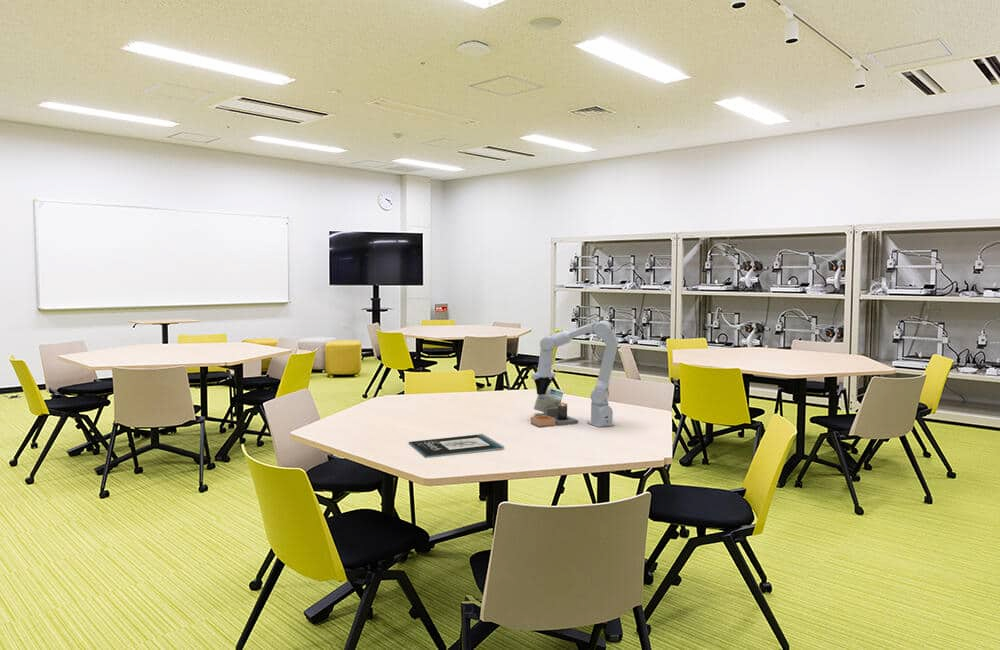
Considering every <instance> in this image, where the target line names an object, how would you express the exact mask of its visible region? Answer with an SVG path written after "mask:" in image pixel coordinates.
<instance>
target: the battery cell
mask: <svg viewBox="0 0 1000 650" xmlns="http://www.w3.org/2000/svg"><path fill="white" fill-rule="evenodd" d="M567 416H568V403H565V402H561V403H559V404H558V420H560V421H561V420H567Z"/></svg>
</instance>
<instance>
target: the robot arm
mask: <svg viewBox="0 0 1000 650" xmlns="http://www.w3.org/2000/svg"><path fill="white" fill-rule="evenodd" d="M558 331H559V332H556V333H553V334H552V333H551V334H549V335H548V336H545V337H543V338H541V340H540V342H539V347H540V352H539V359H538V365H537V371H535V373H533V374H531V380H533V381H534V383H535V388H536V395H537V396H538V395H542V394H543V395H545V393H546V391H547V388H548V386H549V387H550V385H551V383H552V382H553V379H552V378H556V373H555V372H552V363H553V357H554V356H553V355H554V349H555V348H558V347H561V346H565V345H567V344H569V343H570V342H571V340H572V339H573V338H577V337H580V336H582V335H585V334H590V335H594V334H595V336H596V337H599V338H600V339H601V340H602V341H603V343H604V344H605V348H604V352H603V356H602V359H601V365H600V369H599V374H598V376H597V379H596V380H597V381H596V383H595V385H594V389H593V390H592V391H591V393H590V400H591V404H590V421H589V420H588V421H586V423H587V424H590V425H592V426H595V427H599V428H601V427H610V426H611V427H612V426H615V423H613V412H614V411H613V408H612V407H611V406H610V404H609V401H608V398H609V397H610V391H609V386H610V378H611V374H612V371H613V367H614V361H615V359H616V358H615V357H616V354H617V350H618V346H619V340H618V337H617V333H616V330H615V327H614V326H613V325H612V323H611V322H610V321H608V320H602V321H596V322H592V323H588V324H585V325H583V326H580V327H578V328H575V329H573V330H570V331H568V330H566V329H564V330H563V329H561V330H558Z"/></svg>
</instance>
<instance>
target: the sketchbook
mask: <svg viewBox="0 0 1000 650" xmlns="http://www.w3.org/2000/svg"><path fill="white" fill-rule="evenodd" d="M408 444H409V445H410V446H411V447H412V448H413V449H415V451H417V452H418V453H419V454H421V455H422V456H423V457H424V458H426V459H427V458H437V457H446V456H457V455H465V454H467V455H468V454H478V453H485V452H496V451H503V450H504V449H505V446H504V445H503V444H502V443H500V442H498V441H496V440H494V439H493V438H491V437H489V436H487V435H485V433H484V434H483V433H479V434H471V435H470V434H469V435H462V436H460V435H459V436H452V437H441V438H434V439H433V438H431V439H422V440H421V439H420V440H414V441H408Z"/></svg>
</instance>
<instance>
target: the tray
mask: <svg viewBox="0 0 1000 650" xmlns="http://www.w3.org/2000/svg"><path fill="white" fill-rule="evenodd" d="M555 421H556V419H555V418H552V417H550V416H547V415H544V416H543V415H537V416H530V425H532V426H534V427H535V426H536V427H538V428H545V427H556V425H555Z"/></svg>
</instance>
